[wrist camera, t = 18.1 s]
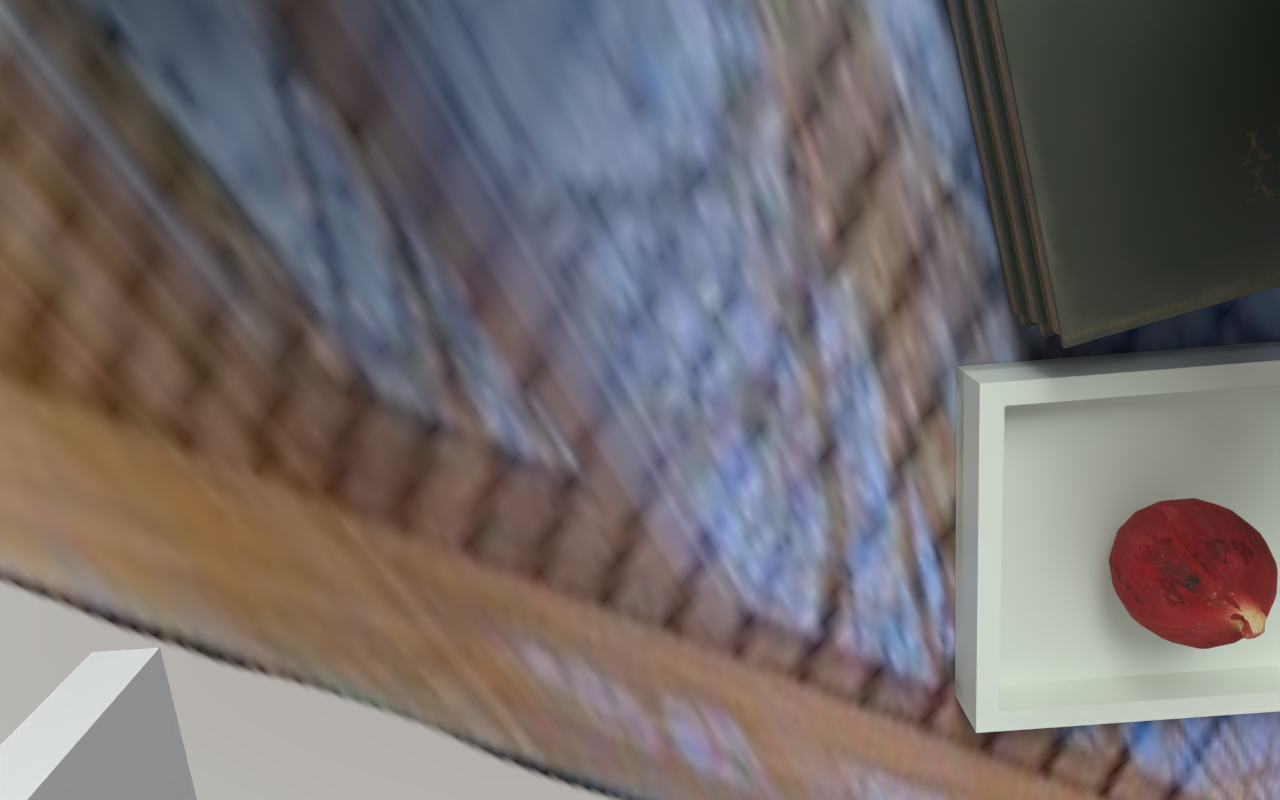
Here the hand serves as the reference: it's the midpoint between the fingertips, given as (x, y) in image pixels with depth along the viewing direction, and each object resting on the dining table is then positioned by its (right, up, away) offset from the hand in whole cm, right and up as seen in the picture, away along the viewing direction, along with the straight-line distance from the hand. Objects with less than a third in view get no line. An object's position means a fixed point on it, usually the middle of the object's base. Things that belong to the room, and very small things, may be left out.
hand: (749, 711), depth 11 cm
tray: (+21, -2, +33) cm, 39 cm away
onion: (+21, -2, +32) cm, 38 cm away
